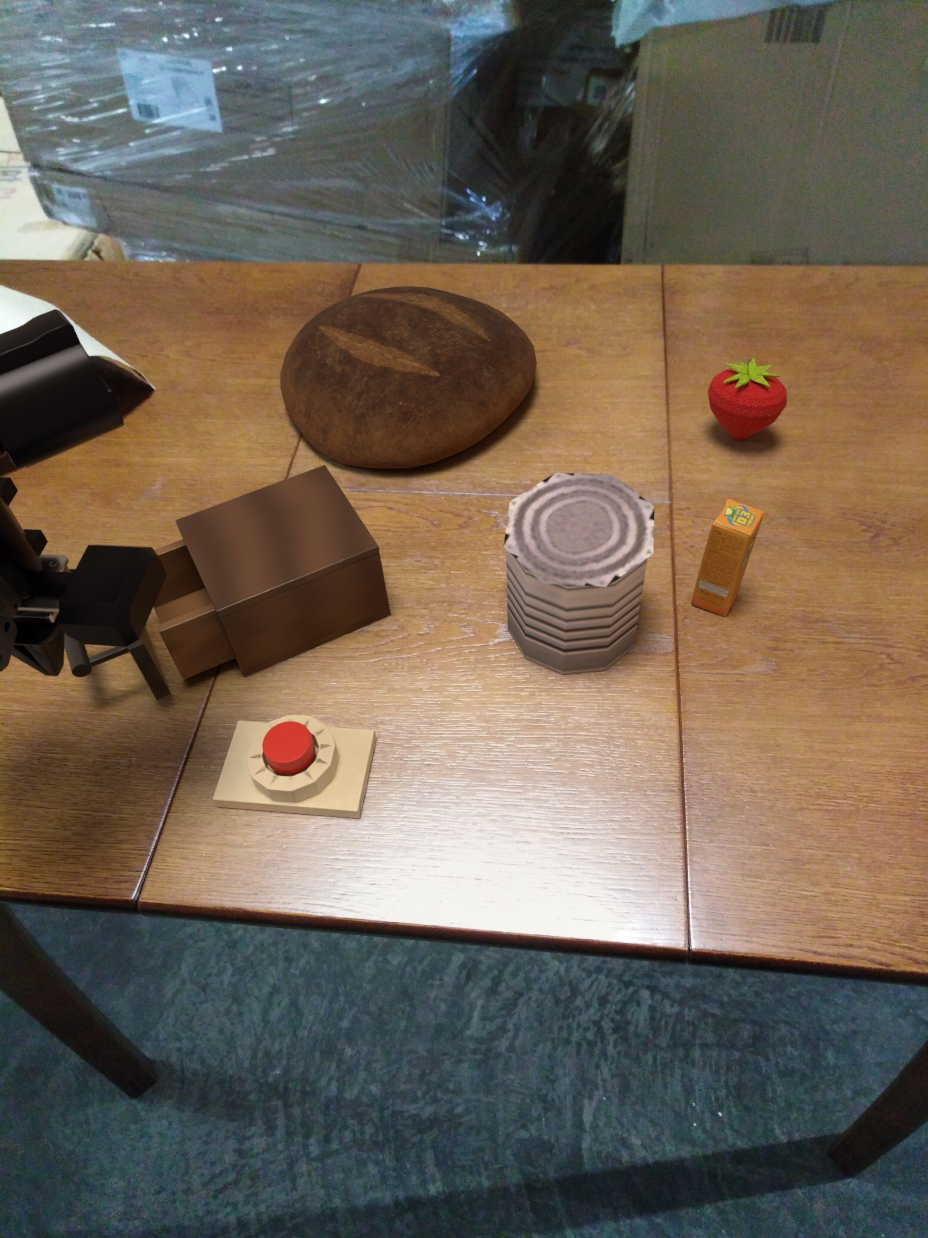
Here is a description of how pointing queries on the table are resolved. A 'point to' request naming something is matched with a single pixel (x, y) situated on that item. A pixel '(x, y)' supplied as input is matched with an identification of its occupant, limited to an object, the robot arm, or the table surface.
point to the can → (576, 570)
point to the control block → (315, 790)
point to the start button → (288, 747)
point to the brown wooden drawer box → (287, 568)
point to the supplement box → (726, 557)
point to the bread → (404, 376)
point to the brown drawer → (170, 628)
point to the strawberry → (746, 398)
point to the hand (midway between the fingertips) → (55, 670)
